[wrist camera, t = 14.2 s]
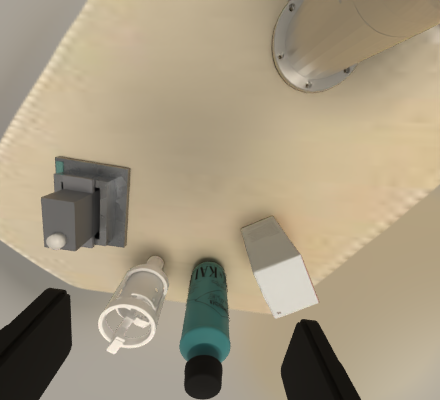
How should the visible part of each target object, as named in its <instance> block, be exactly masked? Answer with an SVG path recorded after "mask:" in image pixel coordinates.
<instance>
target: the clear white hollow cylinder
mask: <svg viewBox="0 0 440 400" xmlns="http://www.w3.org/2000/svg"><path fill="white" fill-rule="evenodd" d="M163 266H164V261H163V260H162V258H160V257H158V256H152V257H150V258H149V259H148V261H147V263H146V264H141V265H137V266H134V267H132V268H131V269H130V270H129V271H128V272H127V274H126V275H125V277H124V278H123V280H122V282H121V283H120V285H119V287H118V288H117V290H116V291H115V293H114V295H113V296H112V298H111V300H110V301H109V303H108V304H107V306H106V308H105V309H104V311H103V313H102V314H101V316H100V318H99V321H98V327H99V330H100V332H101V334H102V336H103V337H104V338H105V339H106V340H107V341H109V342H110V344H109V346H108V348H107V351H108V352H110V353H112V354H115V353H116V352H117V351H118V349H119V348H120V347H124V348H135V347H140V346H142V345H145V344H146V343H148V342H149V341H150V340H151V339H152V338H153V336H154V334H155V330H156V327H157V323H158V319H159V316H160V313H161V309H162V306H163V303H164V299H165V296H166V293H167V290H168V286H169V281H168V278H167V276H166V274H165V273H164V272H163V271H162V268H163ZM163 287H164V289H163ZM155 288H157V290H158V292H157V291H156V289H155ZM121 289H122V292H121V294H120V296H119V297H118V299H117V300H116V298H117V296H118V294H119V293H120V291H121ZM114 309H116V311H117V313H118V314H119V316H120V317H122V318H123V319H124V320H123V321H122V322H121V323H120V324H119V326H118V327H117V329H116V332H114V331H113V330H112V329H111V328H110V327H109V325H108V323H107V320H106V316H107V313H109V312H110V311H112V310H114ZM136 311H140V312H142V313H143V314H144V315H145V317H142V316H140V315H137V316H136V318H135V317H134V316H135V313H136ZM132 322H133V323H134V324H135V325H137V326H140V327H142V328H144V327H146V326H148V325H149V324H150V323H151V326H150V329H149V332H148V333H147V334H145V335H143V336H140V337H135V338H129V337H126V336H125V333H126V331H127V329H128V328H129V326H130V325H131V323H132Z"/></svg>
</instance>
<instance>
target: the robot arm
mask: <svg viewBox="0 0 440 400" xmlns="http://www.w3.org/2000/svg"><path fill="white" fill-rule="evenodd" d="M289 9H291V11H292V12H291V11H289ZM438 24H440V0H290V1H289V2H288V3H287V5H286V6H285V8H284V9H283V11H282V13H281V14H280V16H279V18H278V21H277V23H276V26H275V29H274V34H273V41H272V51H273V59H274V62H275V65H276V68H277V70H278V72H279V74H280V75H281V77H282V78H283V79H284V80H285V82H287V83H288V84H289V85H290V86H291V87H293V88H295V89H297V90H299V91H303V92H309V93H316V92H322V91H325V90H328V89H330V88H332V87H334V86H336V85H338V84H339V83H341V82H342V81H343V80H345V79H346V78H347V77H348V76H349V75H350V74H351V73H352V71H353V70H354V68H355V67H356V66H357V64H358V63H359V62H361V61H363V60H365V59H367V58H369V57H371V56H373V55H376V54H378V53H380V52H382V51H384V50H386V49H388V48H390V47H392V46H394V45H397V44H399V43H401V42H403V41H405V40H407V39H409V38H411V37H413V36H415V35H418V34H420V33H422V32H424V31H426V30H428V29H430V28H432V27H434V26H436V25H438ZM278 56H280V57H281V59H279V58H278ZM344 71H345V72H344ZM306 84H307V88H306V86H305V85H306ZM71 335H72V334H71V306H70V295H69V294H67V292H66V290H62V289H54V288H48V289H46V290H45V291H44V292H43V293H42V294H41V295H40V296H38V298H36V299H35V300H34V301H33V302H32V303H31V304H30V305H29V306H28V307H27V308H26V309H25V310H24V311H22V312H21V313H20V314H19V315H18V316H17V317H16V318H15V319H14V320H13V321H12V322H11V323H10V324H9V325H6V326H5V327H4V328H2V329H1V330H0V400H39V399H40V397H41V396H42V394H43V393H44V391H45V390H46V388H47V387H48V385H49V384H50V382H51V380H52V379H53V377H54V376H55V374H56V373H57V371H58V370H59V368H60V367H61V365H62V364H63V362H64V361H65V359H66V358H67V356H68V354H69V352H70V350H71V346H72V336H71ZM281 377H282V380H283V384H284V388H285V392H286V395H287V399H288V400H361V399H360V397H359V395H358V393H357V391H356V390H355V388H354V386H353V384H352V382H351V381H350V378H349V377H348V375H347V373H346V371H345V369H344V367H343V366H342V364H341V363H340V362H339V360H338V358H337V357H336V355H335V353H334V351H333V350H332V347H331V345H330V344H329V342H328V340H327V338H326V336H325V334H324V333H323V331H322V329H321V327H320V325H319V323H318V322H317V321H314V320H306V319H302V320H301V321H300V323H299V322H298V323H297V324H296V327H295V330H294V333H293V335H292V338H291V341H290V344H289V347H288V350H287V352H286V355H285V358H284V361H283V364H282V366H281Z"/></svg>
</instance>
